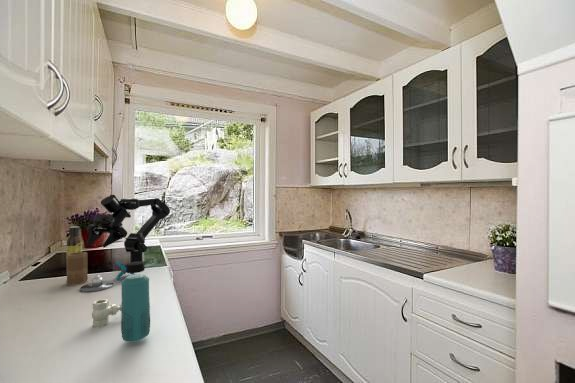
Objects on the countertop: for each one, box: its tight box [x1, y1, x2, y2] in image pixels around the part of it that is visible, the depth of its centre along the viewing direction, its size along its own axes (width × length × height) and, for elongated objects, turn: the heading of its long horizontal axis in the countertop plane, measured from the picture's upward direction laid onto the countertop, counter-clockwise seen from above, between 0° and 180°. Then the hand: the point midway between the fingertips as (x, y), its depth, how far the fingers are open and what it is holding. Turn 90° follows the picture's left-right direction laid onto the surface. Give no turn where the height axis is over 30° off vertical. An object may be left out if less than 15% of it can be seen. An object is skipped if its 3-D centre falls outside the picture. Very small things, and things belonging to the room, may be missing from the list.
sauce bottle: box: [65, 226, 83, 265], centre depth 140 cm, size 6×6×20 cm
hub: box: [79, 274, 115, 293], centre depth 110 cm, size 11×11×4 cm
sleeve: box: [66, 251, 89, 286], centre depth 115 cm, size 6×6×12 cm
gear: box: [115, 261, 135, 281], centre depth 121 cm, size 11×6×10 cm
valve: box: [91, 298, 122, 328], centre depth 82 cm, size 7×7×12 cm
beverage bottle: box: [120, 262, 151, 342], centre depth 71 cm, size 6×7×20 cm
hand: (95, 246), depth 123 cm, fingers open, 9 cm apart
